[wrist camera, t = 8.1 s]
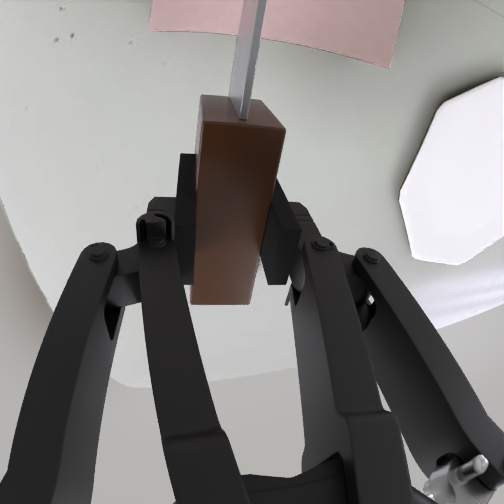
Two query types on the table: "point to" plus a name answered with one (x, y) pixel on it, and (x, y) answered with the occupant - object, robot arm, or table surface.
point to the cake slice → (196, 16)
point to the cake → (337, 26)
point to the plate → (458, 179)
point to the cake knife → (234, 176)
